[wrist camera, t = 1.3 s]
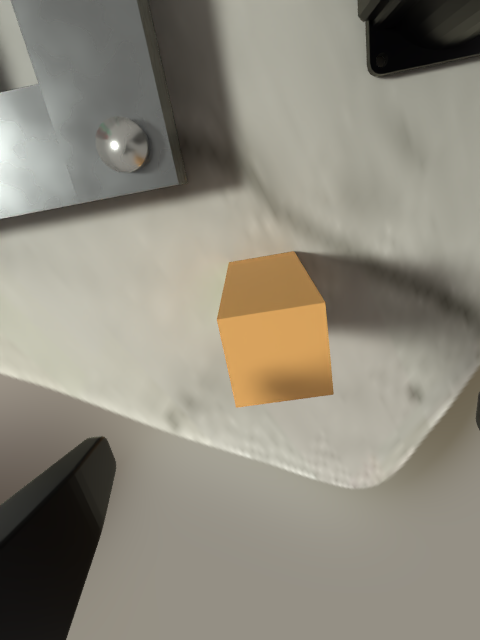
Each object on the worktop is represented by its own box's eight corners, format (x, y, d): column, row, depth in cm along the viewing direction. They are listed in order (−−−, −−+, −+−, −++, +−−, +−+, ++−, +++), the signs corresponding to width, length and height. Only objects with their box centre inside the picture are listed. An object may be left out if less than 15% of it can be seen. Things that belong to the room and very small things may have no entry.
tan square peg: (294, 251, 18) (325, 302, 11) (301, 312, 20) (333, 394, 12) (229, 262, 19) (216, 319, 11) (240, 321, 20) (236, 407, 13)
